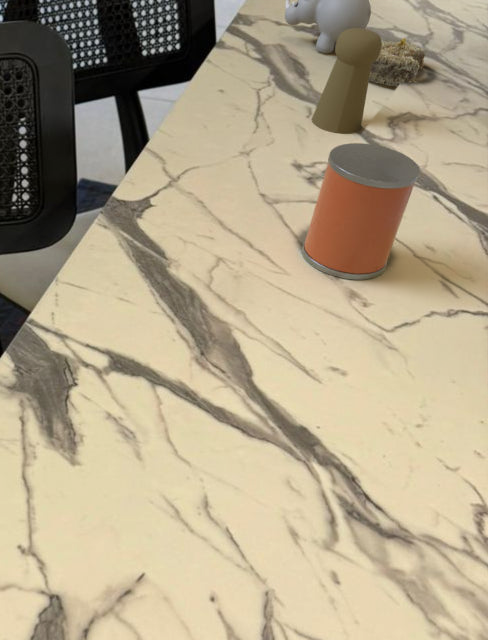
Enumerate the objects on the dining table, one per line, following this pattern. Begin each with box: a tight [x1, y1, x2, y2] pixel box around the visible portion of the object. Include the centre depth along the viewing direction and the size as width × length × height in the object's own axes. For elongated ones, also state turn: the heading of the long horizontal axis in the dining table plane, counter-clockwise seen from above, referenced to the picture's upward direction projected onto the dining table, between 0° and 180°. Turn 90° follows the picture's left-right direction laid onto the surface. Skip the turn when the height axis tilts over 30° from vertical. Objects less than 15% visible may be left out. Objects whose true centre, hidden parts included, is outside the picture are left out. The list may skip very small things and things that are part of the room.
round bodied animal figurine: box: [284, 0, 372, 54], centre depth 144 cm, size 7×12×8 cm, turn 62°
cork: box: [311, 28, 383, 135], centre depth 123 cm, size 6×6×11 cm
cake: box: [369, 37, 426, 88], centre depth 138 cm, size 10×10×5 cm
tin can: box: [301, 142, 421, 281], centre depth 98 cm, size 8×8×10 cm
